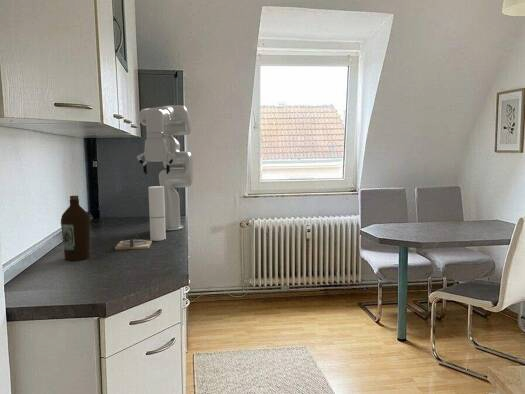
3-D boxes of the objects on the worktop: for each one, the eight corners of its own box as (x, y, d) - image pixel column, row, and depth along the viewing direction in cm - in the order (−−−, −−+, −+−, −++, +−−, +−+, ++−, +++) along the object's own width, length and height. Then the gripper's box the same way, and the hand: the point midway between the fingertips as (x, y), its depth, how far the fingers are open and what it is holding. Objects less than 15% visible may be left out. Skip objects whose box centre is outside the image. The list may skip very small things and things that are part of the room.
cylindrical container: (164, 237, 224) (163, 185, 221) (166, 240, 217) (164, 187, 215) (149, 238, 222) (147, 186, 219) (151, 241, 215) (148, 187, 212)
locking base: (121, 242, 212) (120, 234, 212) (152, 241, 214) (151, 233, 213) (114, 249, 198) (114, 240, 198) (148, 248, 200) (147, 239, 199)
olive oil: (79, 253, 191) (76, 194, 189) (97, 256, 186) (94, 195, 183) (57, 259, 182) (53, 196, 179) (75, 262, 177) (71, 198, 174)
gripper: (175, 136, 214) (176, 172, 217) (136, 136, 212) (138, 173, 215) (174, 136, 207) (175, 174, 210) (134, 136, 205) (136, 175, 207)
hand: (156, 174), depth 212 cm, fingers open, 9 cm apart
